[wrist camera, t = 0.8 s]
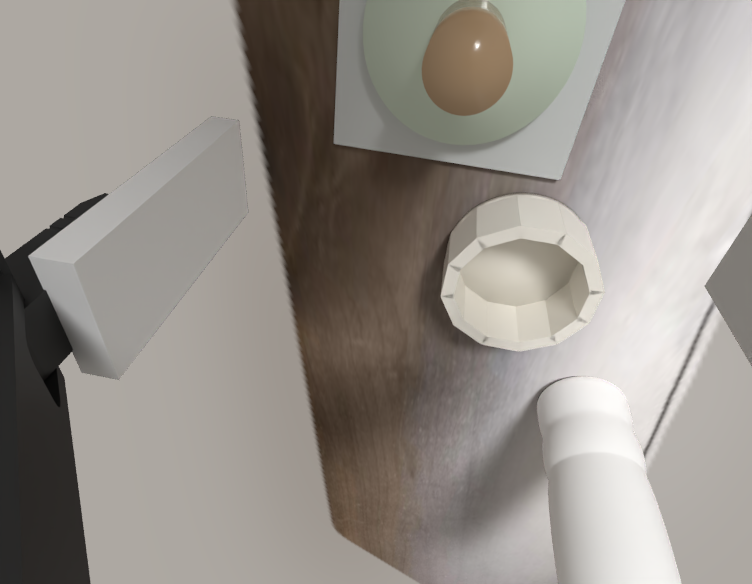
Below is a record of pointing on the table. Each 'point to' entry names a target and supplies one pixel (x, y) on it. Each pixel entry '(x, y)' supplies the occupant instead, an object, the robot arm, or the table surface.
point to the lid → (471, 62)
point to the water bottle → (600, 489)
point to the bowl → (521, 273)
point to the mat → (511, 153)
